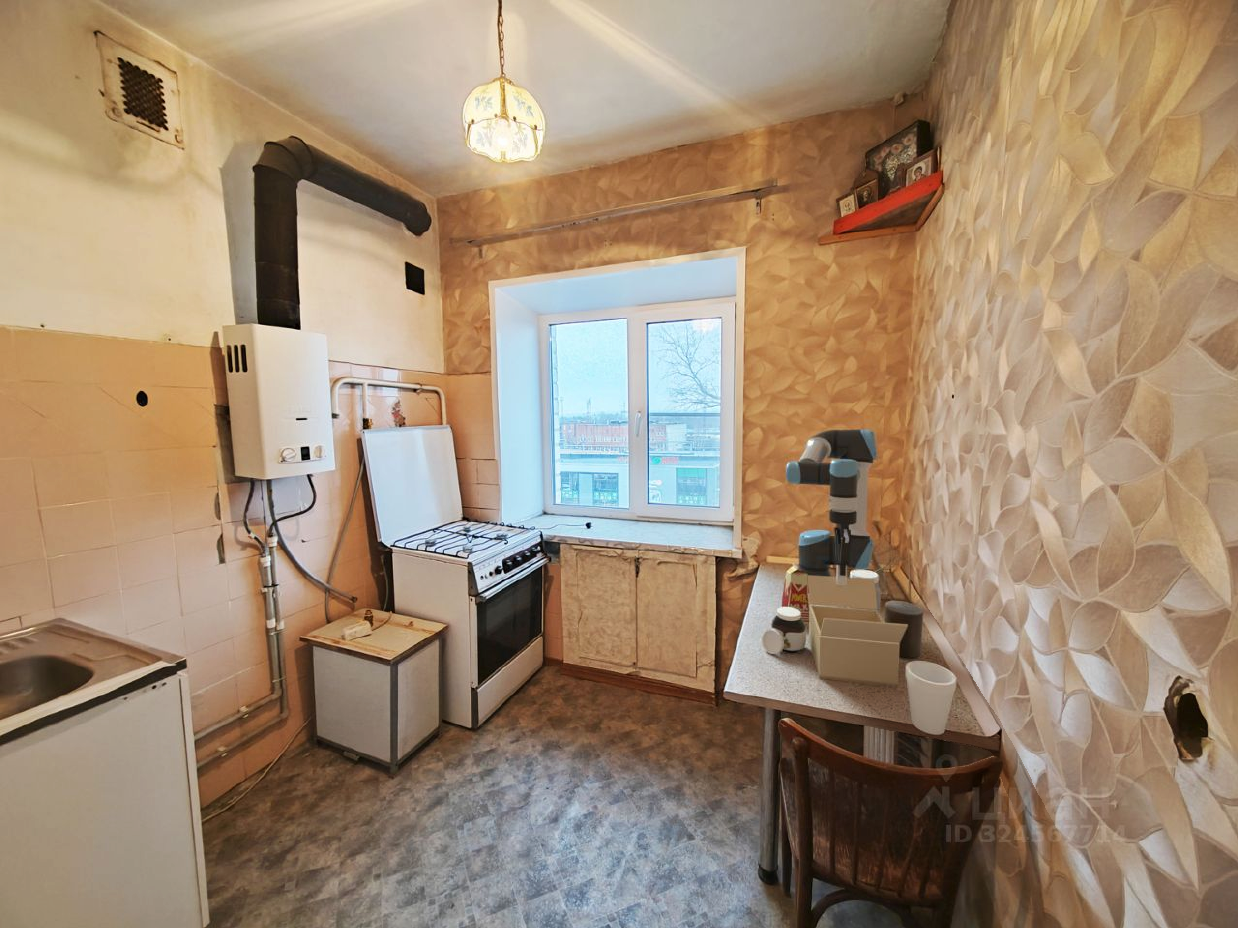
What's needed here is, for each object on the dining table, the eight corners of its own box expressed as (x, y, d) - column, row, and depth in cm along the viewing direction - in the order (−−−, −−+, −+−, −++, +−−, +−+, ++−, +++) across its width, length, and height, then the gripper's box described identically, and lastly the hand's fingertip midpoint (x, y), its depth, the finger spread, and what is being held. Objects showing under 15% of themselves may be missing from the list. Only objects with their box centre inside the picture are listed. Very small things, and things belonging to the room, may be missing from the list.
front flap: (824, 617, 115) (824, 618, 115) (907, 624, 110) (907, 625, 110) (820, 634, 121) (820, 635, 121) (899, 641, 116) (899, 643, 116)
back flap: (874, 579, 138) (873, 579, 138) (807, 575, 143) (807, 575, 143) (877, 609, 135) (877, 609, 135) (809, 604, 140) (809, 604, 140)
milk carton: (812, 625, 152) (813, 568, 150) (784, 623, 154) (784, 567, 151) (807, 613, 161) (808, 559, 158) (780, 611, 163) (780, 558, 160)
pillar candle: (901, 661, 129) (904, 612, 127) (875, 644, 138) (877, 598, 136) (929, 656, 131) (932, 607, 129) (901, 640, 140) (903, 594, 139)
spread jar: (807, 645, 139) (808, 609, 138) (801, 663, 130) (802, 625, 128) (768, 636, 145) (768, 602, 144) (759, 653, 136) (759, 616, 134)
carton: (808, 641, 141) (809, 605, 140) (875, 647, 136) (877, 610, 135) (819, 678, 122) (820, 636, 121) (897, 687, 117) (899, 644, 116)
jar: (847, 628, 148) (848, 576, 146) (846, 616, 157) (847, 566, 155) (881, 634, 144) (883, 580, 142) (878, 620, 153) (880, 570, 151)
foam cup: (894, 712, 108) (896, 662, 106) (930, 709, 108) (933, 659, 107) (924, 741, 98) (927, 686, 97) (964, 737, 99) (967, 683, 97)
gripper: (825, 505, 144) (824, 576, 146) (833, 513, 132) (832, 591, 134) (851, 506, 142) (849, 578, 144) (862, 514, 130) (860, 593, 132)
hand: (841, 584), depth 139 cm, fingers closed
